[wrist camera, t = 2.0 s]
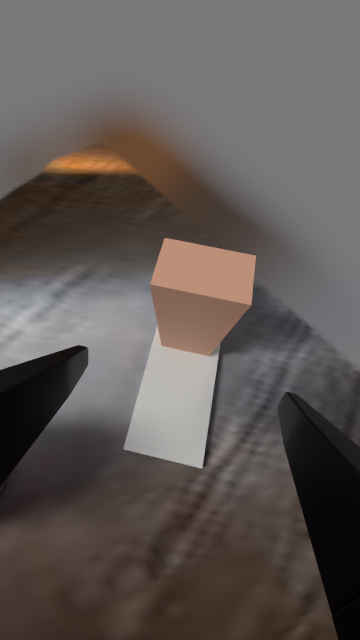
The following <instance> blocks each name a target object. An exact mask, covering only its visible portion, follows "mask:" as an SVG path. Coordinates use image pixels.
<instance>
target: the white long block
mask: <svg viewBox="0 0 360 640" xmlns="http://www.w3.org/2000/svg"><path fill="white" fill-rule="evenodd" d="M220 343H221V342H220ZM220 343H219V345H218V346H217V347H216V348H215V349H214V351H213V352H212V353H211V354H210V355H209V356H205V355H201V354H196V353H192V352H187V351H183V350H178V349H174V348H169V347H165V346H161V341H160V335H159V330H158V325H157V328H156V332H155V336H154V339H153V343H152V347H151V350H150V354H149V357H148V361H147V365H146V368H145V372H144V376H143V379H142V383H141V387H140V390H139V394H138V398H137V401H136V405H135V408H134V412H133V416H132V419H131V423H130V427H129V430H128V434H127V438H126V441H125V445H124V448H123V449H124V450H128V451H132V452H136V453H141V454H145V455H149V456H153V457H157V458H161V459H165V460H169V461H173V462H177V463H181V464H185V465H190V466H194V467H198V468H202V467H203V460H204V454H205V447H206V440H207V433H208V426H209V419H210V412H211V405H212V398H213V391H214V384H215V377H216V370H217V364H218V357H219V350H220Z"/></svg>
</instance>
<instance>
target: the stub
mask: <svg viewBox="0 0 360 640" xmlns="http://www.w3.org/2000/svg"><path fill="white" fill-rule="evenodd" d="M255 260H256V256H254V255H249V254H243V253H239V252H233V251H229V250H224V249H219V248H214V247H208V246H203V245H198V244H193V243H188V242H183V241H178V240H173V239H168V238H165V239H164V242H163V245H162V248H161V251H160V254H159V258H158V261H157V264H156V267H155V270H154V274H153V277H152V280H151V283H150V286H151V292H152V297H153V302H154V308H155V313H156V319H157V324H158V330H159V335H160V341H161V346H165V347H169V348H174V349H178V350H183V351H187V352H192V353H196V354H201V355H205V356H209V355H210V354H211V353H212V352H213V351H214V349H215V348H216V347H217V346H218V345H219V343H220V342H221V341H222V340H223V339H224V337H225V336H226V335H227V334H228V333H229V331H230V330H231V329H232V328H233V327H234V325H235V324H236V323H237V322H238V321H239V319H240V318H241V317H242V316H243V315H244V313H245V312H246V311H247V310H248V309H249V307H250V306H251V304H252V293H253V282H254V271H255Z"/></svg>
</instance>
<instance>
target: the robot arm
mask: <svg viewBox="0 0 360 640" xmlns="http://www.w3.org/2000/svg"><path fill="white" fill-rule="evenodd" d="M87 365H88V348H87V347H85V346H80V345H77V346H74V347H71V348H68V349H65V350H62V351H59V352H55V353H52V354H49V355H46V356H43V357H40V358H37V359H33V360H30V361H27V362H24V363H21V364H18V365H15V366H12V367H8V368H5V369H2V370H0V486H1V485H2V484H3V482H4V481H5V480H6V478H7V477H8V476H9V474H10V473H11V472H12V471H13V469H14V468H15V467H16V465H17V464H18V463H19V461H20V460H21V459H22V457H23V456H24V455H25V453H26V452H27V451H28V449H29V448H30V447H31V446H32V444H33V443H34V442H35V440H36V439H37V438H38V436H39V435H40V434H41V432H42V431H43V430H44V428H45V427H46V426H47V424H48V423H49V422H50V421H51V419H52V418H53V417H54V415H55V414H56V413H57V411H58V410H59V409H60V407H61V406H62V405H63V403H64V402H65V401H66V399H67V398H68V397H69V395H70V394H71V392H72V391H73V389H74V387H75V386H76V384H77V382H78V381H79V379H80V377H81V376H82V374H83V372H84V371H85V369H86V367H87ZM278 414H279V420H280V426H281V432H282V437H283V443H284V447H285V451H286V455H287V458H288V462H289V465H290V469H291V472H292V476H293V479H294V483H295V487H296V490H297V494H298V497H299V501H300V504H301V508H302V511H303V515H304V518H305V522H306V526H307V529H308V533H309V536H310V540H311V543H312V547H313V550H314V554H315V557H316V561H317V565H318V568H319V572H320V575H321V579H322V582H323V586H324V589H325V593H326V596H327V600H328V604H329V607H330V611H331V613H332V614H333V615H332V618H333V622H334V626H335V629H336V633H337V636H338V640H360V447H359V446H358V445H357V444H356V443H354V442H353V441H352V440H351V439H350V438H348V437H347V436H346V435H345V434H344V433H342V432H341V431H340V430H339V429H338V428H336V427H335V426H334V425H333V424H332V423H330V422H329V421H328V420H327V419H326V418H324V417H323V416H322V415H321V414H320V413H318V412H317V411H316V410H315V409H314V408H312V407H311V406H310V405H309V404H308V403H306V402H305V401H304V400H303V399H302V398H300V397H299V396H298V395H297V394H294V393H290V392H286V393H285V394H284V395H283V397H282V399H281V401H280V403H279V406H278Z"/></svg>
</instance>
